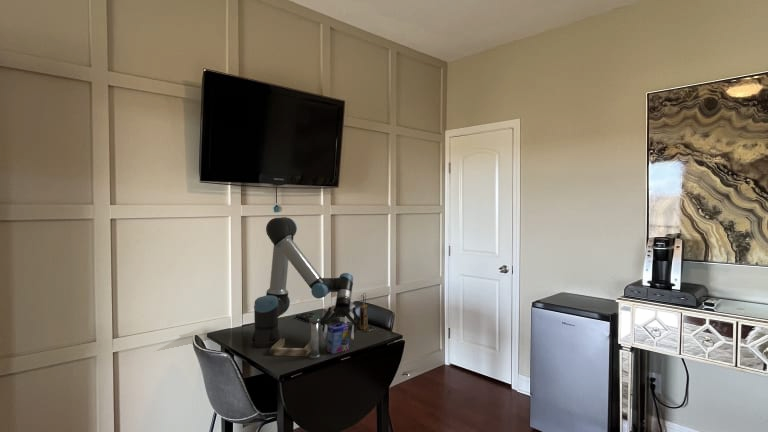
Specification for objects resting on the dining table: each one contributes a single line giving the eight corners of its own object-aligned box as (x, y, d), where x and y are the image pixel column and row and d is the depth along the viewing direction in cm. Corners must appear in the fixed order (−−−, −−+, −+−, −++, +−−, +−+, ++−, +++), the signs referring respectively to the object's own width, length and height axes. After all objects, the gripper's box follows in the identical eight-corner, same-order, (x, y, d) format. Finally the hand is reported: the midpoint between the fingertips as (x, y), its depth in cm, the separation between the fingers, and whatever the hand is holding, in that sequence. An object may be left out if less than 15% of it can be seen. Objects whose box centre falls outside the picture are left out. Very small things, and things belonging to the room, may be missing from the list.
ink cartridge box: (333, 354, 195) (333, 324, 195) (326, 351, 199) (326, 321, 199) (349, 349, 202) (349, 320, 202) (342, 346, 206) (342, 318, 206)
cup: (337, 319, 256) (337, 304, 256) (353, 318, 259) (353, 303, 259) (339, 324, 247) (339, 307, 247) (356, 323, 249) (356, 306, 249)
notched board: (269, 355, 194) (269, 348, 194) (281, 344, 210) (280, 338, 210) (307, 356, 193) (307, 349, 193) (315, 345, 209) (315, 339, 209)
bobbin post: (308, 359, 189) (308, 320, 189) (311, 355, 194) (310, 317, 194) (318, 359, 189) (318, 320, 188) (321, 355, 194) (321, 317, 193)
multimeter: (375, 332, 229) (375, 297, 229) (358, 331, 231) (358, 296, 231) (380, 325, 244) (380, 291, 243) (364, 324, 246) (364, 291, 245)
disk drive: (295, 319, 260) (310, 323, 250) (295, 315, 260) (310, 319, 250) (308, 316, 267) (323, 320, 257) (308, 312, 267) (323, 315, 257)
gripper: (368, 304, 215) (364, 342, 200) (321, 303, 217) (314, 341, 202) (366, 296, 210) (363, 334, 195) (318, 296, 212) (311, 333, 197)
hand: (338, 338), depth 199 cm, fingers open, 13 cm apart
